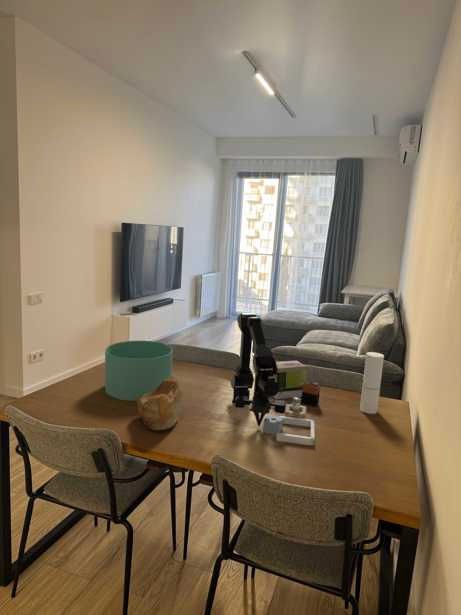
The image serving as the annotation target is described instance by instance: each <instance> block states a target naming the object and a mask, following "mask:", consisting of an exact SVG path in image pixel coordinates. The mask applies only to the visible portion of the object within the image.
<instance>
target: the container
mask: <svg viewBox="0 0 461 615" xmlns="http://www.w3.org/2000/svg"><path fill="white" fill-rule="evenodd" d="M173 351H174V350H173V348H172V346H170V345H168V344H166V343H163V342H158V341H154V340H153V341H152V340H128V341H127V340H126V341H120V342H116V343H111V344H110V345H108V346H107V347H106V348H105V350H104V353H105V355H104V392H105V394H107V395H108V396H110V397H112V398H114V399H117V400H122V401H128V402H137V400H138V399H139V398H140V397H141V396H142V395H144V394H146V393H149V392H151V391H153V390H155V389H156V388H157V387H158V386H159V385H160V384H161V383H162V382H163V381H164V380H166V379H168V378H169V377H170V376H173Z"/></svg>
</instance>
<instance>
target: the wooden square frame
mask: <svg viewBox="0 0 461 615" xmlns="http://www.w3.org/2000/svg"><path fill="white" fill-rule="evenodd" d="M306 415H307V405H300V410H299V412H295V411H292V403H291V404H289V403H286V409H285V413H284V416H286V417H294V418H302V419H307V418H306V417H307V416H306Z"/></svg>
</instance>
